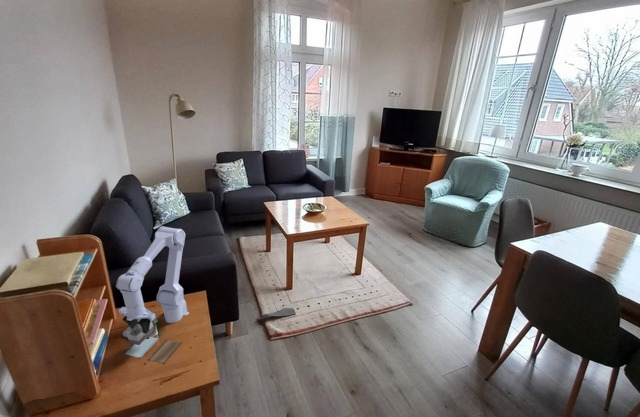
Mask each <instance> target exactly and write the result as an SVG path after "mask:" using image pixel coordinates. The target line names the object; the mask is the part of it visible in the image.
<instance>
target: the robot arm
mask: <svg viewBox="0 0 640 417" xmlns="http://www.w3.org/2000/svg"><path fill="white" fill-rule="evenodd" d="M185 240H186V233H185V231H184V230H183V229H182V228H173V227H168V226H160V227H159V228H157V230H156V232H155V233H154V239H153V241H152V243H151V245H150V246H149V247H148V248H147V250H146V252H145V254H143V255H142V256H140V257H138V258H137V259H136V260H135V261H134V263H133V264H132V265H131V266H130V268H128V270H127V271H126V272H125V273H123V274H120V276H119V277H118V278H117V280H116V284H115V288H117V290H119V291H120V293H121V294H122V297H123V301H124V302H123V303H124V305H125V306H122V307H121V308H120V309H119V310H118V314H119V315H121V316H122V315H124V317H123V318H122V321H123V322H125V323H126V324H127V325H128V327H131V329H133V328H134V327H135V326H136V325H137V324H139V325H140V326H141V328H142V330H143V333H144V334H146V333H147V332H148V331H149V328H150V322H151V321H153V320H154V319H157V318H156V317H157V316H156V314H155V313H153V312H151V311H150V309H149V310H148V309H147V308H146V307H145V303H144V299H143V295H142V291H141V287H142V286H143V282H144V280H145V276H146V275H147V273H148V272H149V270H150V269H151V268H152V266H153V260H154V259H155V258H156V257H157V256H158V254H159V253H160V252H161V251H162V250H163V249H164V248H165V247H168V248H169V250H168V257H167V265H166V272H165V280H164V284H162V285H161V286H160V287H158V288H159V290H158V292H157V294H156V301H157V302H156V303H158V304H160V306H161V307H162V310H163V315H164V321H165V322H166V323H168V324H172V323H177V322H179V321H180V320H181V319H183V316H188V315H189V314H190V312H189V311H188V307H187V302H186V300H185V296H184V288H183V287H182V285H180V283H179V280H180V271H181V265H182V257H183V250H184V246H185V243H186V242H185ZM138 319H141V320H140V321H139V322H138Z"/></svg>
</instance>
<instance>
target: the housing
mask: <svg viewBox="0 0 640 417" xmlns="http://www.w3.org/2000/svg"><path fill="white" fill-rule="evenodd" d="M154 328H155V326H153V323H152V321H151V322H150V328H149V331H148V332H147V333H146V334H144V333H143V330H142V328H141V326H140V325H139V324H137V325H136V326H135V327H134V328H133V329H132V330H130V331H129V332H128V333H127V336H128V337H127V339H128V342H129V344H133V345H134V344H136V345H140V344H141V343H142V342H143V341H144V340H145V339H146V338H147V337H148V336H149V337H150V335H151V334H152V333H153V332H154V331H155V329H154Z"/></svg>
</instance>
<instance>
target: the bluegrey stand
mask: <svg viewBox="0 0 640 417" xmlns="http://www.w3.org/2000/svg"><path fill="white" fill-rule="evenodd" d="M149 337H150V338H149V339H145V340H144V341H143V342H142V343H141V344H140V345H136V344H133V345H132V346H131V347H130V348H129V349H128V350H127V351H126V352H125V354H124V355H127V356H131V357H135V358H139V359H142V357H143V356H144V355H145V354H146V353H147V352H148V351H149V350H150V349H151V347H152V346H154V344H156V343H157V342H158V340H159V337H153V336H149Z"/></svg>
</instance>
